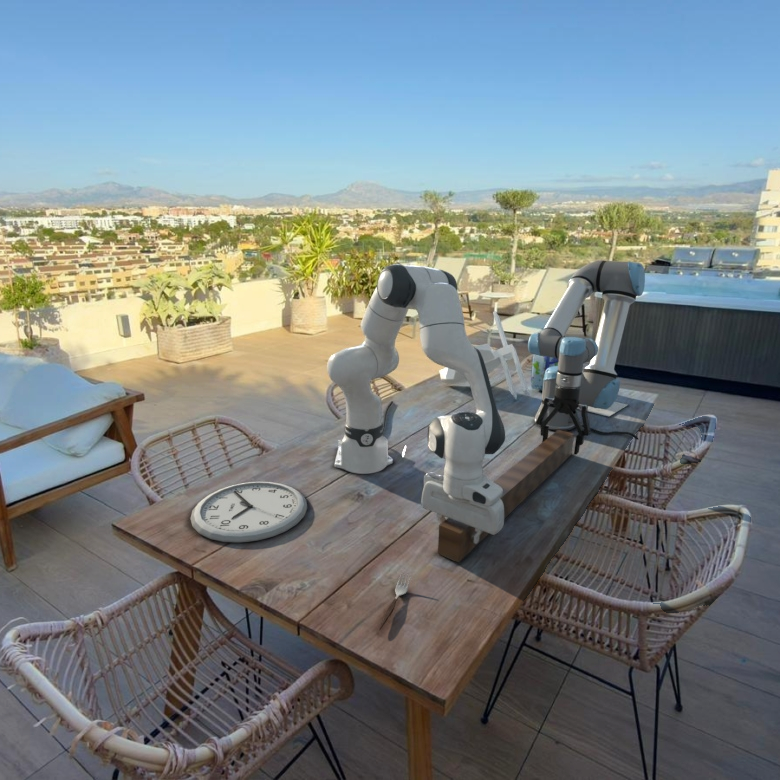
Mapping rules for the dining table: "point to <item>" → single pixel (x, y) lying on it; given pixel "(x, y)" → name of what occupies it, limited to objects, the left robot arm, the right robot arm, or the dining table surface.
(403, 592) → the fork
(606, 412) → the invitation card
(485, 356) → the white plastic object
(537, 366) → the lunch box
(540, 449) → the beam
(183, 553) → the dining table surface
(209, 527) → the wall clock
